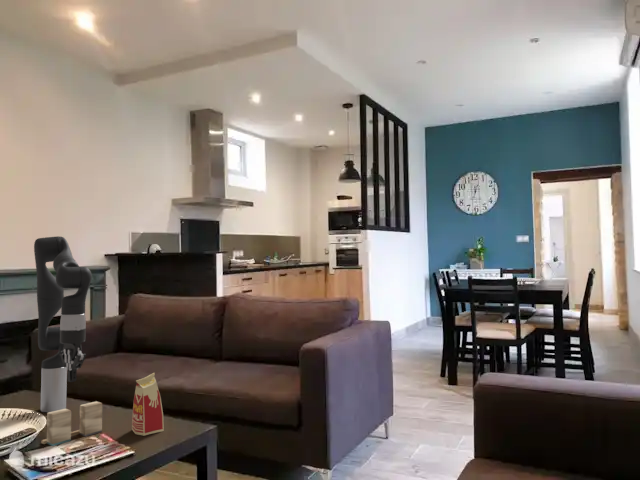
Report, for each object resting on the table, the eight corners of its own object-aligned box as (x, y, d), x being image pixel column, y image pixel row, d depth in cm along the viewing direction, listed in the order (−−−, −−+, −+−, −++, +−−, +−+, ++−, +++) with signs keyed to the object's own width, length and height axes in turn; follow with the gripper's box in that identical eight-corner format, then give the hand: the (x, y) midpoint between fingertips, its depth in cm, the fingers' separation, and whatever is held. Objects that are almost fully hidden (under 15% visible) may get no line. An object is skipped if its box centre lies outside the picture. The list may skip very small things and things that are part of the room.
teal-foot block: (46, 443, 165) (47, 412, 166) (64, 438, 170) (65, 408, 171) (52, 446, 163) (53, 414, 163) (70, 440, 168) (71, 410, 168)
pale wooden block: (79, 434, 174) (79, 405, 175) (95, 429, 179) (96, 401, 179) (85, 436, 172) (85, 407, 172) (101, 431, 177) (102, 403, 177)
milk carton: (153, 425, 184) (153, 369, 185) (165, 430, 177) (165, 373, 178) (128, 430, 177) (129, 373, 178) (140, 437, 171) (140, 378, 172)
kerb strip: (41, 443, 165) (41, 440, 166) (96, 427, 181) (96, 425, 181) (43, 444, 165) (43, 441, 165) (98, 428, 180) (98, 425, 180)
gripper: (51, 327, 165) (50, 380, 164) (71, 330, 157) (70, 386, 156) (74, 325, 171) (73, 376, 170) (94, 328, 163) (93, 382, 162)
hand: (72, 381), depth 163 cm, fingers closed
